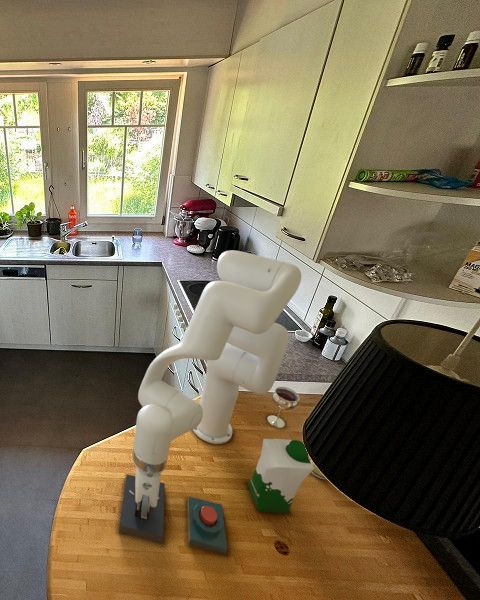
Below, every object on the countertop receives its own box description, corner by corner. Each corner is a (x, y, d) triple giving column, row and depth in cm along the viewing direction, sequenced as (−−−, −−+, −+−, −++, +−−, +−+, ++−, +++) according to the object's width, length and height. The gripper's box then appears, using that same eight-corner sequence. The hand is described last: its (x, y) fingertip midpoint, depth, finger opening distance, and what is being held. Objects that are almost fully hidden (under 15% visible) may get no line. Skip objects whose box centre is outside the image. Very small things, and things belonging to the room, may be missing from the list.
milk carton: (293, 517, 79) (321, 465, 70) (255, 515, 80) (279, 463, 70) (276, 482, 87) (299, 431, 78) (242, 481, 88) (261, 430, 78)
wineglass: (271, 430, 102) (282, 402, 97) (260, 413, 108) (270, 386, 103) (292, 429, 102) (304, 402, 97) (280, 413, 108) (291, 386, 103)
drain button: (199, 508, 78) (200, 503, 77) (215, 512, 77) (216, 507, 76) (200, 523, 75) (201, 519, 74) (216, 527, 74) (218, 523, 73)
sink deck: (125, 480, 88) (126, 473, 86) (163, 490, 85) (164, 482, 84) (118, 531, 77) (119, 524, 75) (161, 544, 74) (163, 536, 73)
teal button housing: (187, 501, 83) (189, 492, 81) (220, 509, 81) (223, 500, 79) (188, 544, 74) (191, 534, 72) (225, 554, 73) (229, 545, 71)
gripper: (168, 496, 63) (157, 546, 71) (166, 427, 78) (157, 475, 86) (130, 488, 64) (123, 538, 72) (134, 421, 79) (128, 469, 87)
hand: (141, 503), depth 79 cm, fingers open, 5 cm apart
